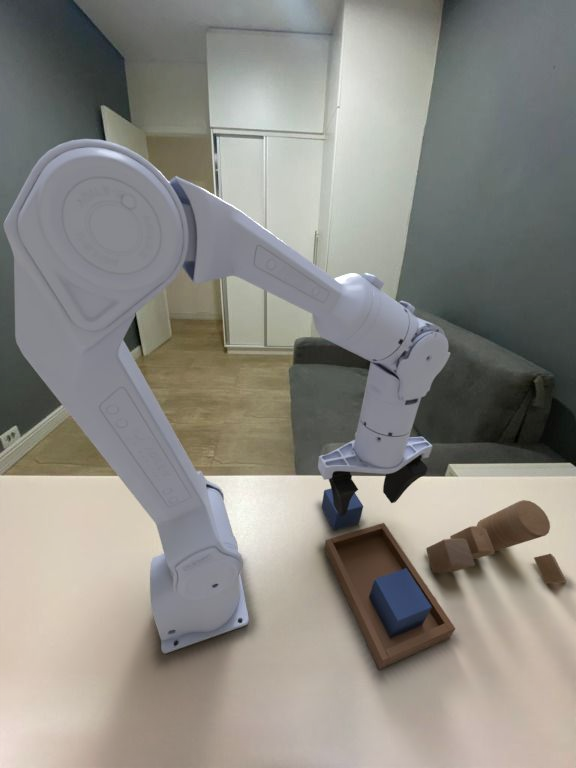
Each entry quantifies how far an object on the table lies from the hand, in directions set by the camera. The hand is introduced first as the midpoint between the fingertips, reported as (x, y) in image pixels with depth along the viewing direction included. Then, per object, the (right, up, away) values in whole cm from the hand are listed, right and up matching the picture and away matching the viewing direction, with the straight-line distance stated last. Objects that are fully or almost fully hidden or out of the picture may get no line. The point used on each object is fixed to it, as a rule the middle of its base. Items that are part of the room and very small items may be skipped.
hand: (364, 503), depth 41 cm
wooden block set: (+18, -9, +3) cm, 21 cm away
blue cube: (+3, -11, -4) cm, 12 cm away
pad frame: (+2, -11, -1) cm, 11 cm away
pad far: (-2, -5, +8) cm, 10 cm away
